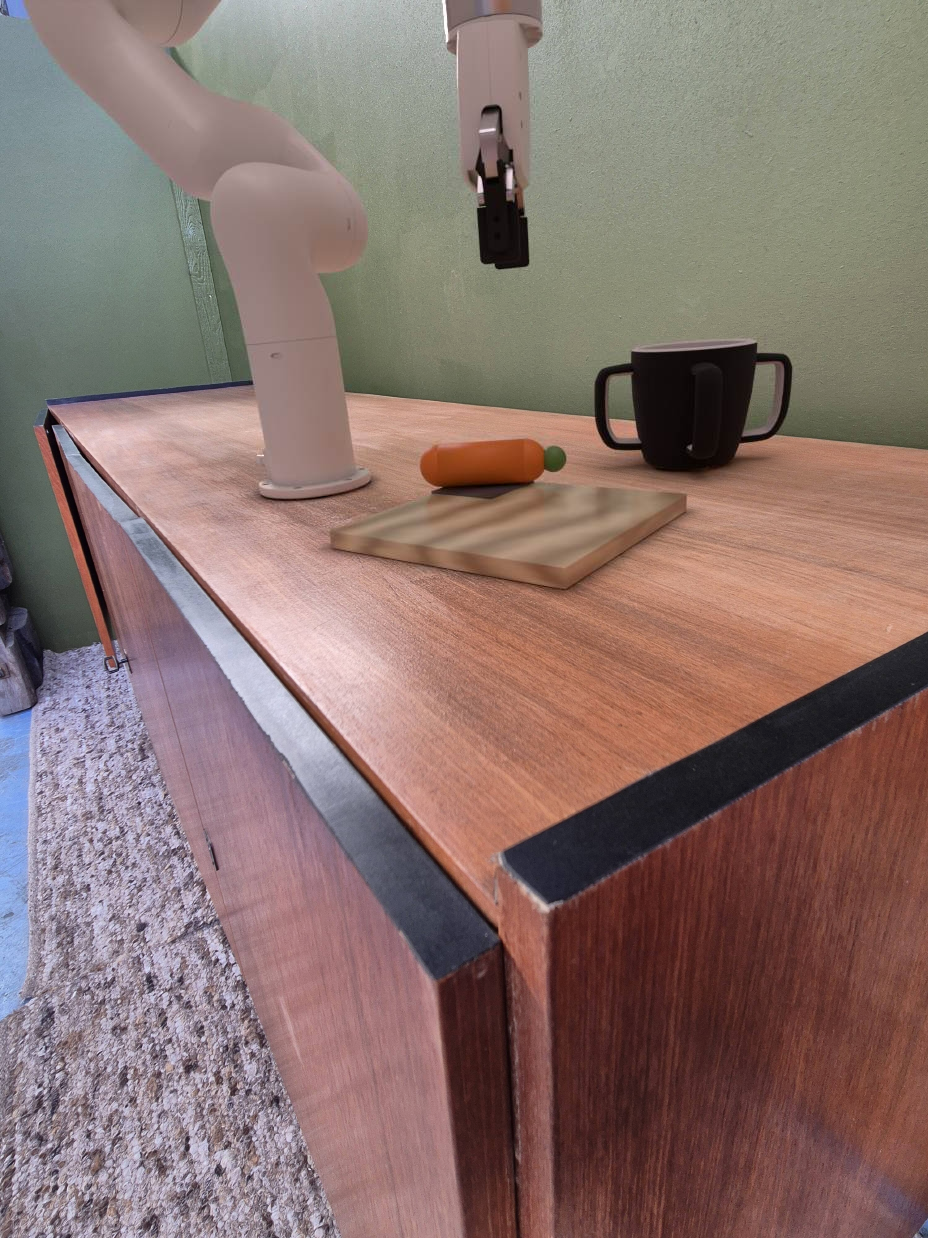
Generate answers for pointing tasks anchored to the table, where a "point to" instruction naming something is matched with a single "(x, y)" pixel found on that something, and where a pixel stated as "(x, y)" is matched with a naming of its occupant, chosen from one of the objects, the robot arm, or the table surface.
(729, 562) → the table surface
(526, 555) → the chopping board
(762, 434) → the mug
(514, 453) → the carrot
